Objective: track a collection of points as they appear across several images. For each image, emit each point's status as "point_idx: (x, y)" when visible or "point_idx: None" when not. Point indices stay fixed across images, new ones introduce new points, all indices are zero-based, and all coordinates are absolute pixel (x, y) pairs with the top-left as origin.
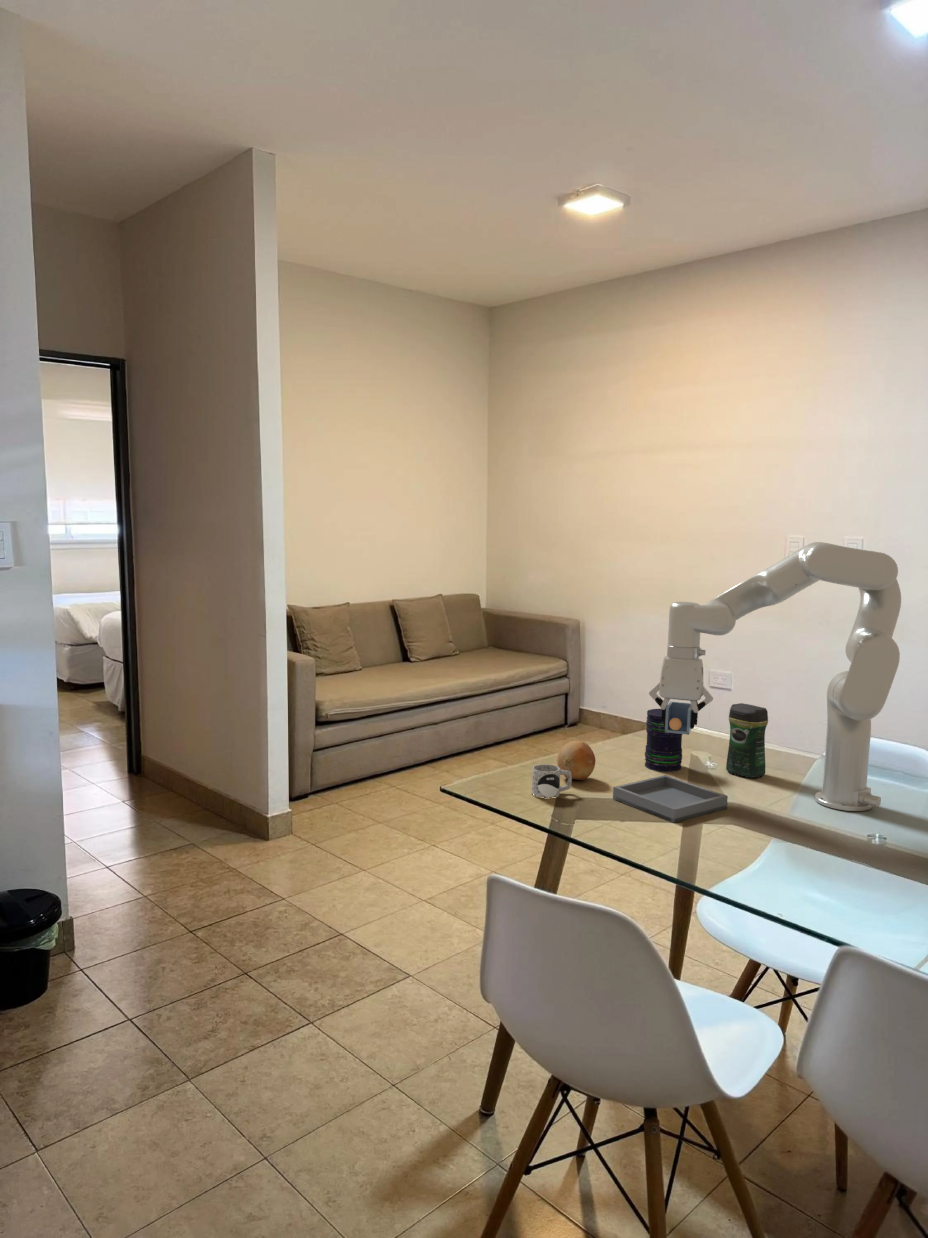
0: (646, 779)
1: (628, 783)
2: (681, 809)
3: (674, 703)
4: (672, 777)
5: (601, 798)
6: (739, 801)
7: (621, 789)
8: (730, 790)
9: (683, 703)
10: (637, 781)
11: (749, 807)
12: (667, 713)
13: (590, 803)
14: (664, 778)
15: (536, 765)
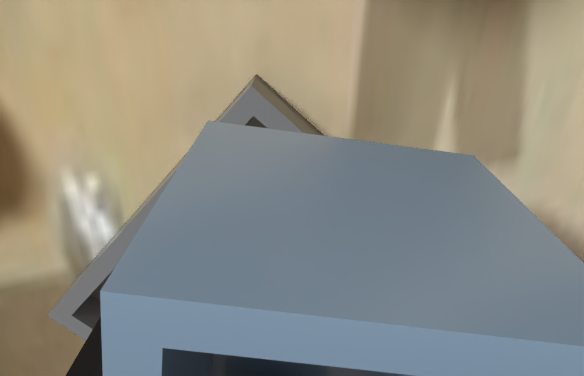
0: (163, 185)
1: (95, 261)
2: None
3: (218, 335)
4: (287, 119)
5: (28, 285)
6: (563, 192)
7: (85, 336)
8: (571, 42)
9: (425, 367)
10: (128, 225)
11: (580, 252)
12: None
13: (9, 339)
14: (248, 120)
15: None
